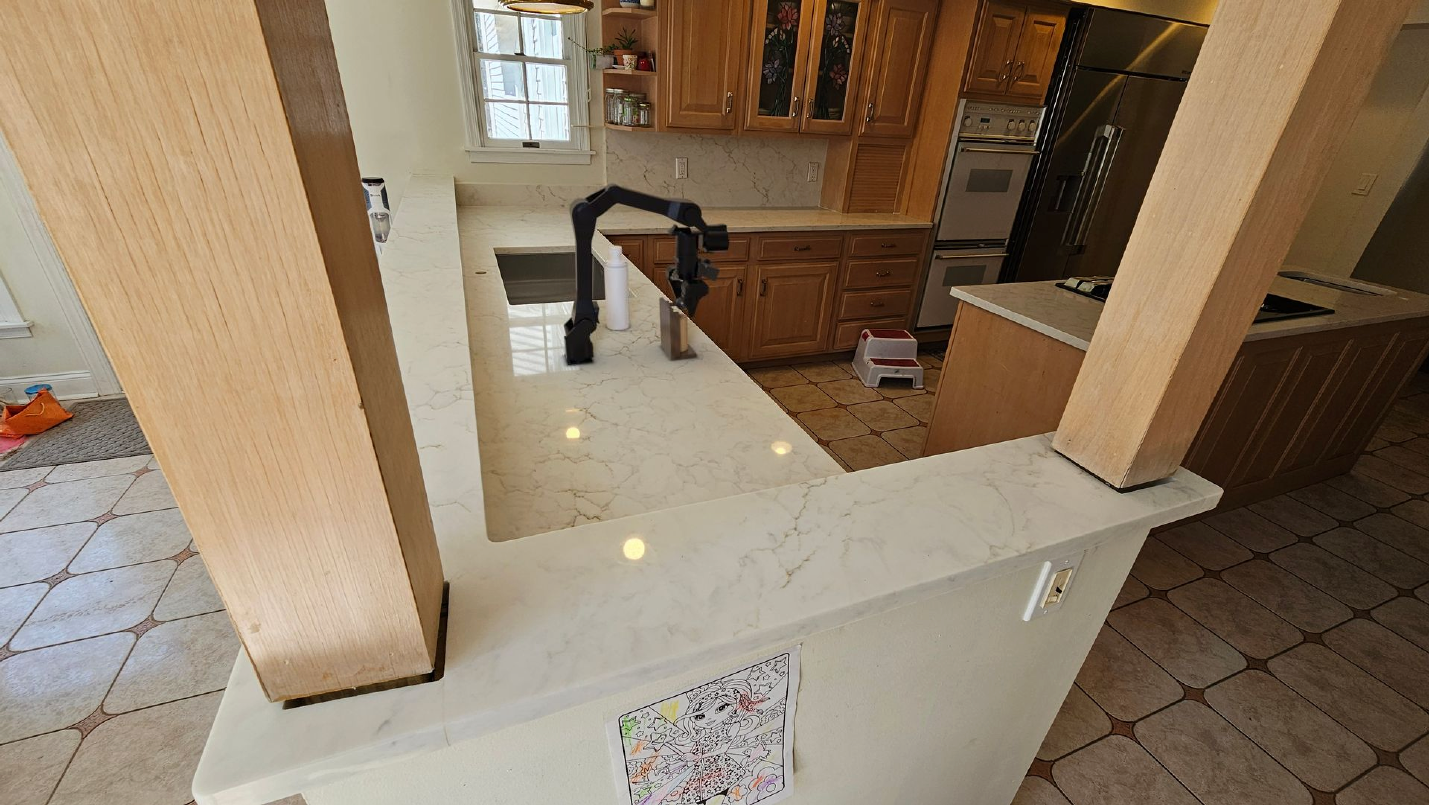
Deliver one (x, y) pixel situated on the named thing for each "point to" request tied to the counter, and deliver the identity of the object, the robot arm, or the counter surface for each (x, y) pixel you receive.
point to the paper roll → (683, 332)
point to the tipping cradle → (672, 330)
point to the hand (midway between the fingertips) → (685, 311)
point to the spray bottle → (616, 290)
